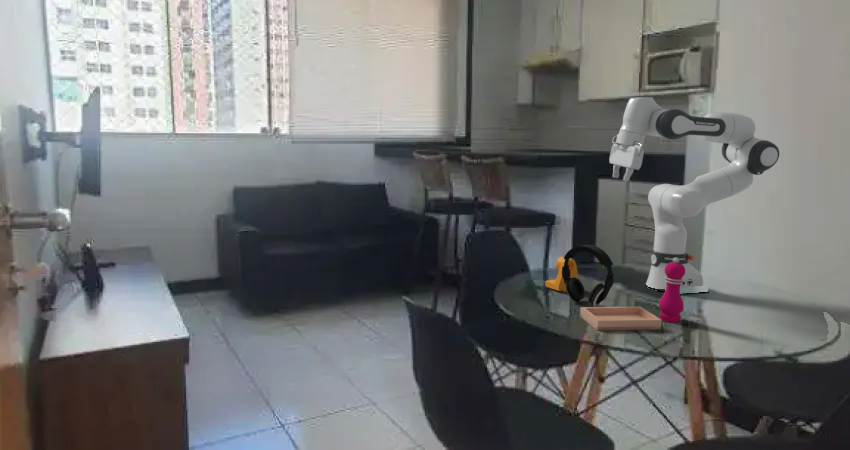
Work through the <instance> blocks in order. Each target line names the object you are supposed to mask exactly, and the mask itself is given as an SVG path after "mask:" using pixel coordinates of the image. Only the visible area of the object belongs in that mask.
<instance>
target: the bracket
mask: <svg viewBox="0 0 850 450" xmlns="http://www.w3.org/2000/svg"><path fill="white" fill-rule="evenodd" d="M564 262H565V259H564V256H560V257H558V258H557V260H556V263H555V266H556V267H555V268H556V270H558V272H557V275H556V278H554V279H550V280H545V282H544V283H545V284H544V285H545V288H550V289H552V290H556V291H558V292H563V293H565V292H567V290H566V286H565V283H564V279H563V277H562V267H563V266H564ZM568 265H569V269H570V278H573V277H575V278H577V279H579V280H580V277H579V271H578V267H577V263H576V260H575V259H573V258H570V259H569V262H568Z"/></svg>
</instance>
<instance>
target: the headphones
mask: <svg viewBox="0 0 850 450" xmlns="http://www.w3.org/2000/svg"><path fill="white" fill-rule="evenodd" d="M582 252H585V253H589V254H591V255H593V256H594V257H595V258H596V259H597V261H598V263H600V264H601V266H603V267H604V268H606V271H607V274H606V279H605V281H604V283H602V282H600V283H597V284H596V285H595V286H594V287H593V288H592V290H591V291H590V293H589V295H588V299H587V300H588V302H589V303H590V305H591V307H598V306H599V305H600V304H601V303H602V302H603V301H605V300H606V299H607V296H608V294H609V292H610V290H611V289H612V287H613V285H614V281H615V280H614V272H613V271H612V266H614V263H613V261H612V259H611V258H610V256H609V254H608V253H607V252H606V251H604V250H603V249H601V248H600V247H599V246H596V245H594V244H593V245H592V244H583V245H577V246H574V247H573V248H570V249H569V250H568V251H567V252H566V253H565V254H564V256H563V257H564V259H565V262H564V266H563V267H562V277H563V279H564V283H565V286H566V290H567V291H566V292H567V295H568V296H569V299H571V300H573V302H575V303H578V302H580V301H581V300H583V299H584V297H585V293H586V292H585V291H586V290H585V286H584V285H583V283H582V281H581V280H580V278H579V279H577V278H575V277H573V278H570V269H569V265H568V262H569V259H573V258H575V257H576V256H579V254H581V253H582Z"/></svg>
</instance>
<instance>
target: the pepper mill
mask: <svg viewBox="0 0 850 450" xmlns="http://www.w3.org/2000/svg"><path fill="white" fill-rule="evenodd" d="M678 262H679V259H678V258H674V259H673V262H671V263H668V264H667V265H666V266H665V270H664V271H665V274H666V275H667V277H665V278H666V280H665V281H666V290H665V292H663V294H662V296H661V298H660V299H659V301H658V302H659V303H658V307H659V310H660V312H659V313H658V316H659V317H658V318H660V319H661V320H662V322H666V323H673V324H674V323H675V322H677V323H680V322H681V319H682V315H681V314H680V313H683V311H684V302H683V298H682V296H681V295H680V285H681V284H682V280H683V279H682V277H683V276H684V275H685V267H684V266H683V265H682V264H680V263H678ZM679 321H680V322H679Z"/></svg>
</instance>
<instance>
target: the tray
mask: <svg viewBox="0 0 850 450" xmlns="http://www.w3.org/2000/svg"><path fill="white" fill-rule="evenodd" d="M579 317H580V318H581V319H583V320H584V321H585V322H586V323H587V324H588V325H590V326H592V328H593V329H595V330H596V331H649V330H650V331H651V330H653V331H656V330H657V331H658V330H662V322H663V320H661V319H660V318H659V317H658V316H656V315H655V314H654V313H652V312H650V311H649V310H646V309H645V308H644V307H642V306H595V307H593V306H589V307H588V306H581V307H580V310H579Z"/></svg>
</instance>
